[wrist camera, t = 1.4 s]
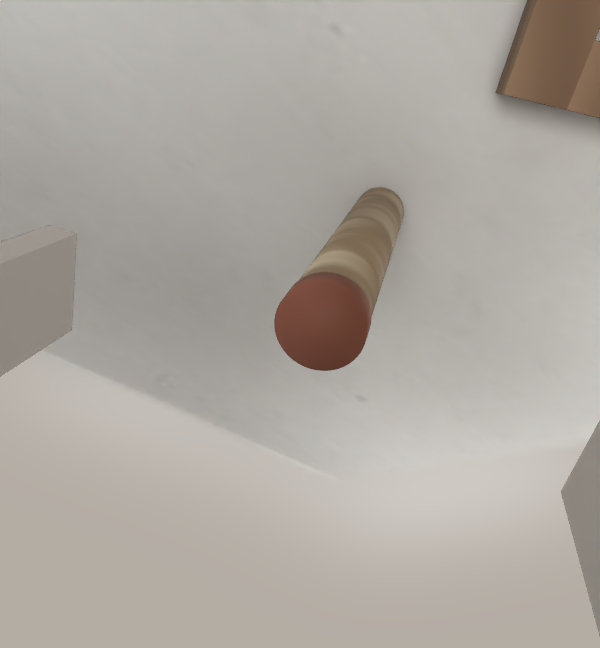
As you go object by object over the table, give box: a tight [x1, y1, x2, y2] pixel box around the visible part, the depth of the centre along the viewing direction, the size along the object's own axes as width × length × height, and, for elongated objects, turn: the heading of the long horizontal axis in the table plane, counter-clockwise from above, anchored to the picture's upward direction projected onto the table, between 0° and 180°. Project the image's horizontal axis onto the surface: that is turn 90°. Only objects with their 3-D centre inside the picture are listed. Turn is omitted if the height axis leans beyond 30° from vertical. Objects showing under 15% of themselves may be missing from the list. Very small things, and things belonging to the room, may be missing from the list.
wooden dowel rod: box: [275, 188, 404, 371], centre depth 22 cm, size 2×2×15 cm
